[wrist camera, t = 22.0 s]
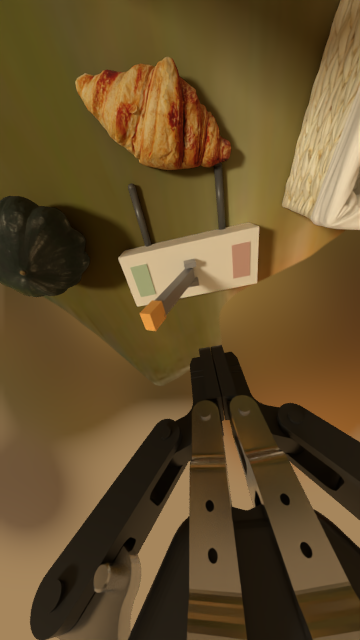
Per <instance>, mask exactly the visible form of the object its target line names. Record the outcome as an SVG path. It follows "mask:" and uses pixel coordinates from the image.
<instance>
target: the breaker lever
mask: <svg viewBox="0 0 360 640" xmlns="http://www.w3.org/2000/svg"><path fill="white" fill-rule="evenodd" d="M194 279H195V275H194V269H193V268H188V269H184V270H183V271H182V272H181V273H180V274H179V275H178V276H177V278H176V279H175V280H174V281H173V282H172V283H171V284H170V285H169V286H168V287H167V288H166V289H165V290H164V291H163V292H162V293H161V294H160V295H159V296H158V297H157V298H156V299H155V301H154V300H152V301H151V302H150V303H149V304H148V305H147V306H146V307H145V308H144V309H143V310H142V311H141V312H140V315H141V318H142V321H143V323H144V326H145V328H146V330H151V331H156V330H157V329H158V328H159V326H160V325H161V324H162V323H163V321H164V320H165V319H166V315H167V314H168V312H169V311H170V310H171V309H172V307H173V306H174V305H175V303H176V302H177V301H178V300H179V298H180V297H181V296H182V295H183V293H184V292H185V291H186V289H187V288H188V287H189V286H190V284H191V283H192V282H193V281H194Z"/></svg>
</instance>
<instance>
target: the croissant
mask: <svg viewBox="0 0 360 640" xmlns="http://www.w3.org/2000/svg"><path fill="white" fill-rule="evenodd" d="M75 83H76V88H77V91H78V93H79V95H80V97H81V98H82V100H83V101H84V103H85V105H86V107H87V109H88V110H89V111H90V112H91V113H92V114H93V115H94V116H95V117H96V118H97V119H98V120H99V122H100V123H101V125H102V126H103V127H104V128H105V129H106V130H107V132H108V134H109V135H110V137H111V138H112V139H113V140H114V141H115V142H117V143H118V144H119V145H120V146H123V147H125V148H126V149H127V150H128V151H129V152H130V153H132V154H134V156H135V157H136V158H137V159H139V162H140V163H141V164H143V165H146V166H150V167H154V168H159V169H164V170H177V169H185V168H194V167H198V166H200V165H201V166H204V167H211V166H213V165H215V164H217V163H220V162H224V161H227V160H228V159H229V157H230V153H231V144H230V142H229V141H228V140H226V139H224V138H222V137H221V136H220V132H219V127H218V125H217V123H216V120H215V118H214V117H213V115H212V114H211V112H208V111H207V110H206V107H205V106H204V105H203V104H200V102H199V99H198V96H197V94H196V90H195V89H194V88H193V87H191V86H190V85H189V84H188V83H187V82H185V81H184V80H183V79H182V78H181V77H180V76H179V73H178V70H177V67H176V65H175V63H174V61H173V59H172V58H169V57H165V58H164V59H163V60H162V61H159V62H158V63H157V65H156V67H155V66H151V65H144V64H138V65H135V66H133V67H132V68H131V69H130V70H129V71H127V72H123V73H122V72H116V71H111V70H104V71H102V72H101V74H98V75H95V76H93V75H88V74H86V73H85V74H83V75H82V76H80V77H79V78H77V80H76V82H75Z"/></svg>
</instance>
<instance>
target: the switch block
mask: <svg viewBox="0 0 360 640" xmlns="http://www.w3.org/2000/svg"><path fill="white" fill-rule="evenodd" d="M214 172H215V185H216V198H217V211H218V224H219V229H217V230H212V231H208V232H204V233H199V234H195V235H190V236H186V237H182V238H177V239H173V240H168V241H164V242H160V243H155V244H151V241H150V237H149V233H148V230H147V226H146V223H145V219H144V216H143V212H142V208H141V205H140V201H139V198H138V194H137V191H136V187H135V185H134V184H129V186H128V189H129V193H130V196H131V199H132V203H133V206H134V209H135V213H136V216H137V219H138V223H139V226H140V229H141V233H142V236H143V239H144V243H145V246H142V247H138V248H133V249H129V250H124V252H123V253H122V254H121V255H120V256H119V257H118V259H119V262H120V264H121V267H122V270H123V272H124V275H125V277H126V280H127V282H128V285H129V287H130V290H131V292H132V295H133V297H134V300H135V302H136V305H137V307H138V306H143V305H148V304H149V303H150V302H151V301H152V300H154V301H155V299H156V298H157V297H158V296H159V295H160V294H161V293H162V292H163V291H164V290H165V289H166V288H167V287H168V286H169V285H170V284H171V283H172V282H173V281H174V280H175V279H176V278H177V276H178V275H179V274H180V273H181V272H182V271H183V270H184V269H188V268H193V269H194V275H195V279H194V281H193V282H192V283H191V284H190V286H189V287H188V288H187V289H186V291H185V292H184V293H183V295H182V296H181V297H180V298H184V297H189V296H194V295H199V294H204V293H210V292H215V291H220V290H225V289H230V288H235V287H240V286H245V285H250V284H255V283H257V273H258V246H259V226H257V225H254V224H252V223H250V222H248V223H243V224H239V225H234V226H230V227H226V226H225V209H224V191H223V174H222V163H221V162H220V163H217V164H215V165H214Z"/></svg>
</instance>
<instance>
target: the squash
mask: <svg viewBox="0 0 360 640" xmlns="http://www.w3.org/2000/svg"><path fill="white" fill-rule="evenodd" d="M84 249H85V237H84V236H83V235H82V234H81V233H80V232H78V231H77V230H75V229H73V228H71V226H70V223H69V221H68V220H67V218H66V216H65V215H64V214H63V213H62V212H61V211H60V210H58V209H56V208H53V207H45V206H38V205H37V204H35V203H34V202H32V201H31V200H29V199H27V198H24V197H20V196H8V197H5V198H3V199H2V200H1V201H0V283H1V284H3V285H5V286H8V287H11V288H13V289H14V290H16V291H17V292H19V293H21V294H23V295H26V296H33V297H41V296H45V295H48V296H55V295H59V294H62V293H64V292H65V291H66V290H67V289H68V288H69V287H72V286H74V285H76V284H77V283H78V282H79V281H80V280H81V276H82V273H83V272H84V271H85V270H86V269H87V267H88V265H89V262H90V258H89V256H88V254H87V253H86V252H85V251H84Z"/></svg>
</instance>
